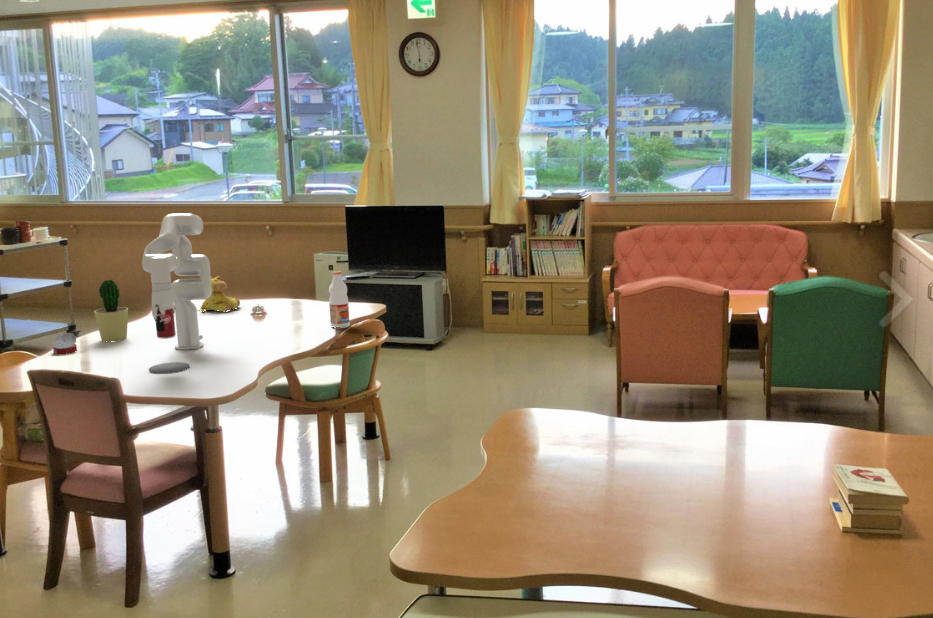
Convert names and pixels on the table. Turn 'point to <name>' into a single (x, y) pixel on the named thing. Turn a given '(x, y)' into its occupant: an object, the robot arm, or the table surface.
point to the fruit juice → (338, 301)
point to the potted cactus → (111, 314)
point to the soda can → (167, 325)
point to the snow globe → (65, 344)
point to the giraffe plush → (219, 297)
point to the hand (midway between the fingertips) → (165, 329)
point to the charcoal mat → (169, 367)
